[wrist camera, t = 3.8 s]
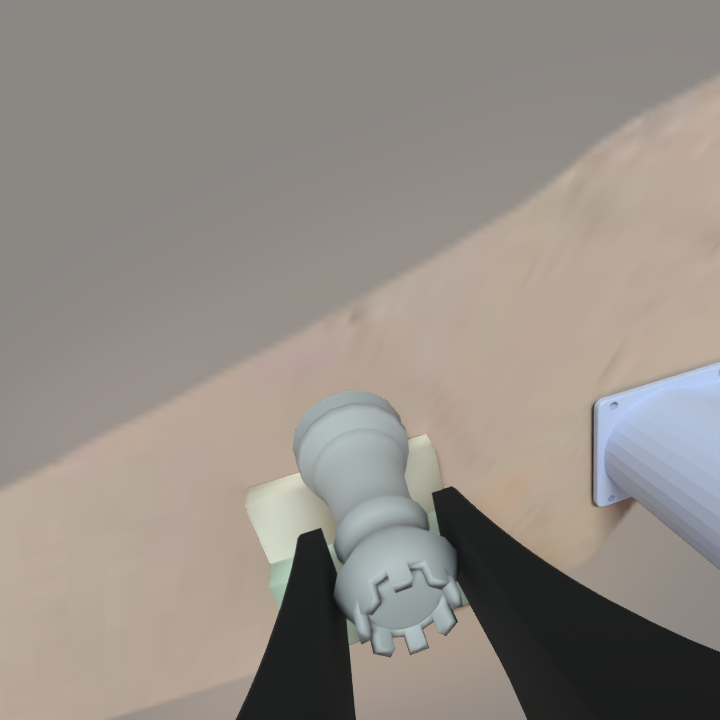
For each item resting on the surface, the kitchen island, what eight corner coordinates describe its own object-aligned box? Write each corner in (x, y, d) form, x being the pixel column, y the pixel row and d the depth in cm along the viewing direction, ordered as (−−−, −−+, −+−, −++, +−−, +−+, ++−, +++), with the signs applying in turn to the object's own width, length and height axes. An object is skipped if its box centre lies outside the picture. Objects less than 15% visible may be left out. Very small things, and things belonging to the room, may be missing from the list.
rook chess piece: (399, 472, 18) (492, 659, 10) (296, 488, 17) (319, 704, 10) (400, 378, 16) (511, 523, 9) (287, 391, 15) (305, 563, 8)
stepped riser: (425, 434, 22) (446, 466, 20) (450, 561, 26) (470, 603, 23) (247, 488, 21) (242, 530, 19) (300, 611, 25) (302, 661, 23)
